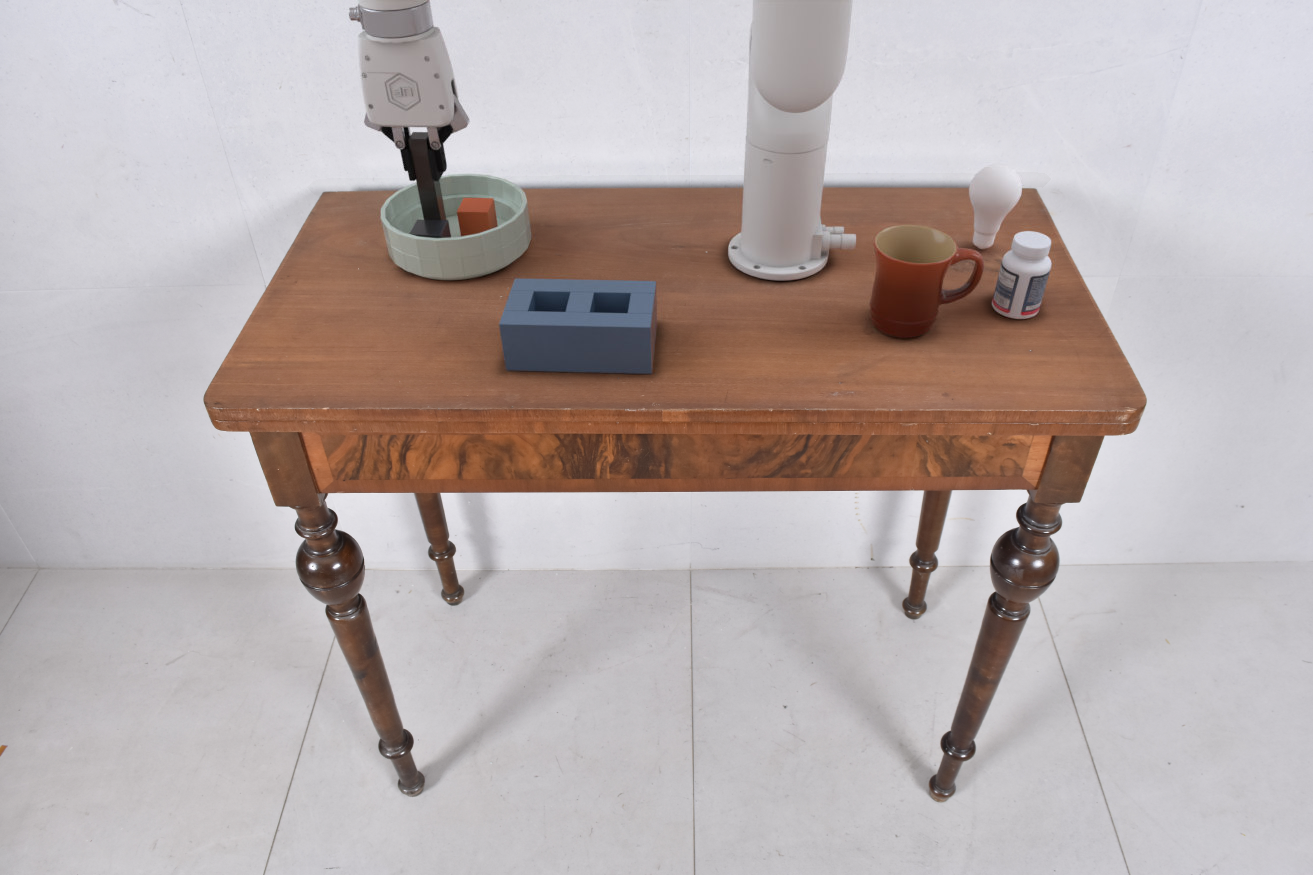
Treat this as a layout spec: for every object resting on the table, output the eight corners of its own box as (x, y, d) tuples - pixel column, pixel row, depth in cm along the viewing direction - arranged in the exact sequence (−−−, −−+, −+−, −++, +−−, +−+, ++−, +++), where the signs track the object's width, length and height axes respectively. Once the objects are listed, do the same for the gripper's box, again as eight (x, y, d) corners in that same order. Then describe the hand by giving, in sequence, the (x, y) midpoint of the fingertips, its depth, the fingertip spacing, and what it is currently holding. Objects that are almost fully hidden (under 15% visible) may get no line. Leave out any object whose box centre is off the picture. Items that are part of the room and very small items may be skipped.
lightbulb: (953, 255, 117) (971, 173, 110) (960, 233, 121) (977, 153, 114) (1003, 263, 115) (1024, 180, 108) (1008, 241, 119) (1029, 160, 112)
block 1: (453, 248, 119) (448, 219, 116) (445, 263, 116) (440, 235, 113) (422, 247, 119) (417, 219, 117) (414, 263, 116) (408, 234, 114)
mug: (864, 344, 102) (877, 262, 96) (858, 302, 109) (870, 222, 102) (975, 349, 101) (995, 267, 95) (963, 306, 108) (981, 226, 101)
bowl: (541, 215, 127) (537, 174, 123) (517, 285, 113) (512, 241, 109) (411, 213, 128) (403, 172, 124) (372, 282, 114) (361, 239, 110)
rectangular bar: (447, 222, 119) (430, 132, 111) (442, 231, 118) (426, 139, 110) (430, 222, 119) (412, 131, 112) (426, 230, 118) (407, 139, 110)
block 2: (497, 226, 123) (493, 198, 121) (491, 240, 120) (487, 212, 118) (468, 225, 124) (463, 197, 121) (461, 240, 121) (456, 211, 118)
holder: (520, 323, 107) (514, 278, 103) (657, 326, 106) (656, 280, 102) (505, 370, 100) (498, 324, 96) (651, 374, 99) (650, 327, 95)
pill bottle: (1039, 300, 109) (1059, 231, 103) (1037, 323, 105) (1058, 254, 99) (992, 292, 110) (1009, 225, 104) (989, 316, 106) (1007, 247, 101)
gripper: (315, 29, 100) (354, 189, 112) (461, 30, 99) (484, 191, 111) (338, 8, 105) (372, 162, 117) (476, 9, 104) (497, 164, 116)
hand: (427, 175), depth 114 cm, fingers closed on rectangular bar, 2 cm apart
